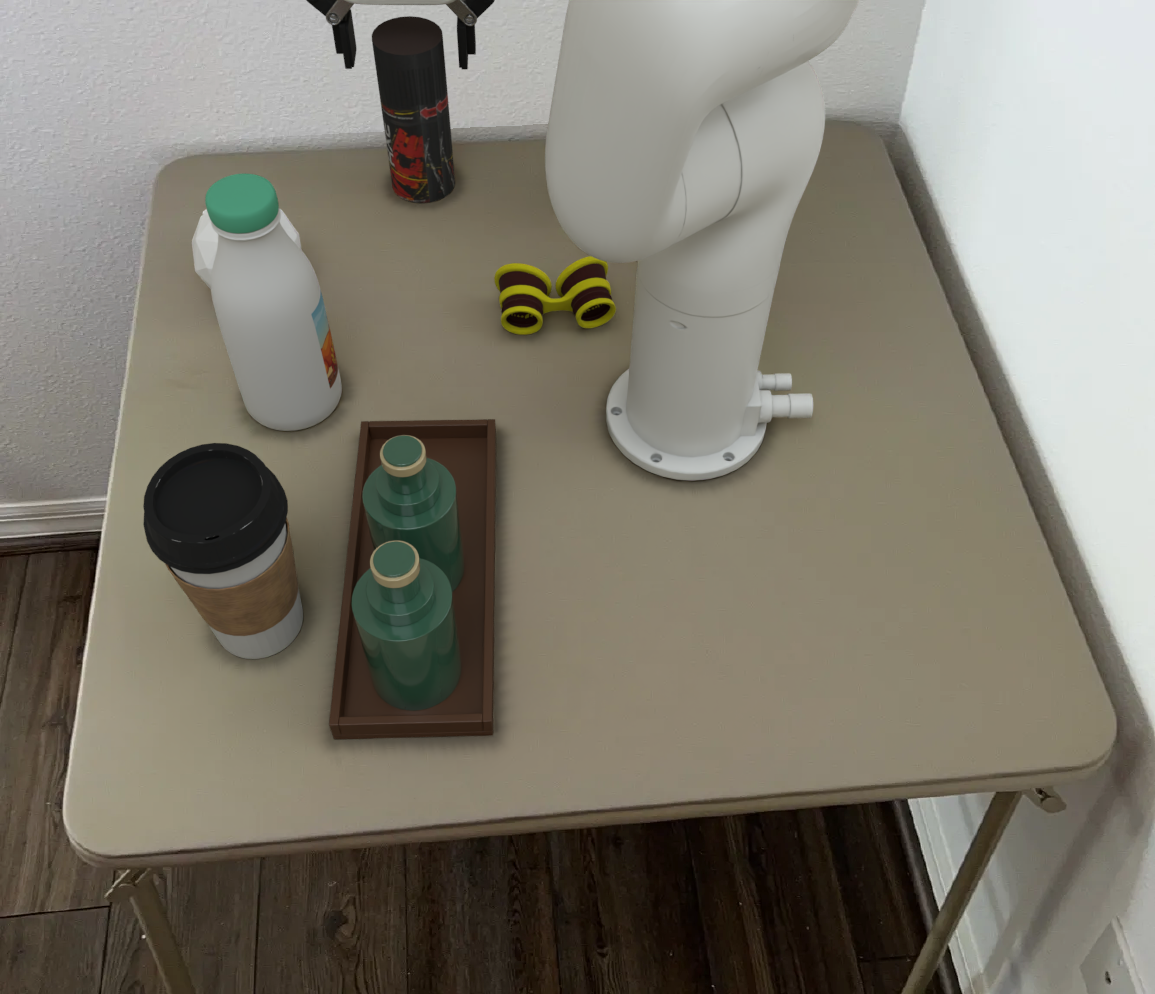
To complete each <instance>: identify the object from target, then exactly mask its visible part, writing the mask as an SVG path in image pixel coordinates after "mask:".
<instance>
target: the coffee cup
mask: <svg viewBox="0 0 1155 994" xmlns="http://www.w3.org/2000/svg"><path fill="white" fill-rule="evenodd" d="M288 501H289V500H288V498H287V493H286V491H285V489H284V487H283V485H282V484H281V482H280V480H279V479H278V478H277V475H276V474H275V473H274V472H273V471H272V470H271V469H270V468H269V467H268V466H266V464H265V463H264V461H263V460H262V459H261V458H260V457H259V456H258V455H257V454H255V453H254V452H252V451H251V450H249V449H248V448H245V447H242V446H240V445H237V444H232V443H226V442H225V443H223V442H209V443H203V444H199V445H195V446H192V447H189V448H187V449H184V450H183V451H180V452H178V453H176V454H175V455H173V456H172V457H170V458H169V459H167V460H166V461H165V462H164V463H163V464H162V465H160V467H158V469H157V470H156V471H155V472H154V474H153V475H152V476H151V479H150V480H149V482H148V484H147V486H146V488H145V492H144V495H143V504H142V505H143V507H142V508H143V522H142V523H143V530H144V534H145V539H146V542H147V544H148V546H149V548H150V550H151V552H152V553H153V554H154V555H155V557H156V558H157V559H158V560H160V562H162V563H164V564H165V566H166V568H167V570H168V571H169V573H170V574H171V576H172V577H173V578H174V580H175V581H176V583H177V584H178V586H179V587H180V588H181V590H182V591H183V592H184V594H185V596H186V597H187V599H188V600H189V602H191V604H192V606H194V608H195V609H196V611H197V612H198V613H199V615H200V616H201V618H202V620H204V622H205V623H206V624H207V626H208V627H209V629H210V630H211V631H212V633H213V635H214V636H215V638H216V640H217V641H218V643H219V644H220V645H221V646H222V647H223V648H224V650H226V651H227V652H228V653H229V654H231V655H233V656H236V657H238V658H241V659H246V660H259V659H266V658H268V657H272V656H275V655H276V654H278V653H281V652H282V651H283V650H285V649H286V648H288V647H289V646H290V645H291V644H292V643H293V641H295V639H296V638H297V637H298V635H299V633H300V631H301V629H302V626H303V622H304V611H303V610H304V609H303V604H302V599H301V593H300V589H299V580H298V573H297V567H296V561H295V554H294V549H293V548H294V547H293V541H292V536H291V530H290V523H289V519H288V514H289V505H288V504H289V502H288Z"/></svg>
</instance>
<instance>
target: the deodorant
mask: <svg viewBox="0 0 1155 994" xmlns="http://www.w3.org/2000/svg"><path fill="white" fill-rule="evenodd" d="M371 43H372V51H373V58H374V65H375V72H376V80H377V86H378V93H379V94H378V95H379V101H380V102H379V103H380V109H381V116H382V123H383V130H384V136H385V143H386V151H387V158H388V166H389V172H390V180H391V187H392V190H393V192H394V194H396V195H397V196H398V197H399V198H400V199H402V200H404V201H406V202H410V203H414V204H415V203H416V204H428V203H430V204H431V203H434V202H438V201H440V200H442V199H444V198H446V197H447V196H448V195H450V194H451V193H452V191H454V189H455V186H456V177H455V174H456V173H455V165H454V163H455V162H454V152H453V151H454V150H453V141H452V130H451V129H452V128H451V117H450V104H449V93H448V84H447V82H448V81H447V72H446V71H447V69H446V58H445V48H444V35H443V30H442V28H441V27H440V25H439V24H437V23H436V22H435V21H433V20H430V19H428V18H425V17H421V16H411V15H410V16H409V15H408V16H399V17H398V16H397V17H394V18H393V17H392V18H390V19H387V20H385V21H383V22H381V23H379V24H377V26H376V27H375V28H374V29H373V31H372V33H371Z"/></svg>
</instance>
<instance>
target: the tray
mask: <svg viewBox="0 0 1155 994" xmlns="http://www.w3.org/2000/svg"><path fill="white" fill-rule="evenodd" d="M359 428H360V429H359V436H358V447H357V456H356V465H355V466H356V467H355V475H354V484H353V494H352V503H351V504H352V505H351V511H350V512H351V513H350V523H349V532H348V541H347V552H346V559H345V569H344V578H343V579H344V581H343V590H342V598H341V607H340V616H339V625H338V636H337V644H336V653H335V654H336V656H335V665H334V674H333V683H332V693H331V701H330V702H331V703H330V712H329V720H328V722H329V723H328V726H329V729H330V731H331V735H332V737H333V740H361V739H362V740H367V739H400V738H401V739H402V738H403V739H408V738H409V739H410V738H411V739H412V738H446V737H447V738H448V737H449V738H450V737H451V738H452V737H483V736H484V737H486V736H494V699H495V698H494V697H495V696H494V695H495V691H494V688H495V685H494V683H495V611H496V609H495V607H496V604H495V603H496V601H495V599H496V597H495V595H496V594H495V593H496V587H495V586H496V518H497V517H496V512H497V511H496V510H497V509H496V506H497V505H496V504H497V503H496V502H497V501H496V500H497V497H496V496H497V425H496V419H495V418H489V419H487V418H486V419H426V420H425V419H424V420H423V419H421V420H419V419H418V420H361V421H360V427H359ZM400 435H409V436H413V437H415V438H417V439H419V440H420V441H421V442H422V443H423V444H424V446H425V450H426V457H427V458H430V459H432V460H435V461H437V462H439V463H440V464H442V465H443V466H444V467H445V468H446V469H447V470H448V471H449V472H450V473H451V475H452V476H453V478H454V481H455V485H456V491H457V500H458V509H459V518H460V527H461V536H462V545H463V554H464V562H465V570H464V575H463V578H462V580H461V582H460V584H459V585H458V587H457V588H456V589H455V590H454V591H453V592H452V595H453V603H454V610H455V618H456V625H457V633H458V640H459V648H460V655H461V663H462V671H461V676H460V680H459V682H458V684H457V686H456V688H455V689H454V691H453V692H452V693H451V694H450V695H449V696H448V697H447V698H446V699H445V700H444V701H442V702H441V703H439V704H437V705H435V706H433V707H431V708H428V709H423V710H416V711H409V710H402V709H399V708H396V707H393V706H391V705H389V704H388V703H386V702H385V701H384V700H382V699H381V698H380V696H379V695H378V694H377V692H376V691H375V689H374V687H373V684H372V681H371V677H370V673H369V670H368V666H367V662H366V659H365V655H364V651H363V648H362V644H361V640H360V637H359V633H358V629H357V625H356V622H355V618H354V614H353V611H352V595H353V591H354V588H355V586H356V584H357V582H358V581H359V579H360V578H361V577H362V575H363V574H364V573H365V572H366V571H367V570H369V569H370V568H371V567H370V558H371V555H372V553H373V552H374V549H373V545H372V540H371V536H370V531H369V527H368V523H367V518H366V514H365V509H364V505H363V499H362V493H363V488H364V485H365V483H366V481H367V479H368V477H369V476H370V475H371V473H372V472H373V471H374V470H375V469H377V468H378V467H379V466H381V465H382V464H381V459H380V450H381V448H382V446H383V445H384V443H385V442H386V441H388V440H389V439H391V438H393V437H395V436H400Z"/></svg>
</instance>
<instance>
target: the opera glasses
mask: <svg viewBox="0 0 1155 994" xmlns="http://www.w3.org/2000/svg"><path fill="white" fill-rule="evenodd" d="M608 264H609V263H608V262H606V261H602V260H599V259H596V258H594V257H592V256H590V255H588V256H585V257H582V258H579V259H577V260H576V261H573V262H572V263H570V264H569V265H568V266H567V267H565V268H564V269H563V270H562V271H561V273H560V274H559V275H558V277H557V279H556V281H555V285H554V288H555V292H556V294H557V295H558V297H559V298H558V297H557V298H552V297H550V295H551V294H552V290H553V284H552V283H553V282H552V281H551V278H550V276H548V274H547V273H546V272H544V271H543V270H541V269H539V268H538V267H536V266H534V265H531V264H526V263H521V262H513V263H507V264H504V265H502V266H500V267H499V268H498V269H497V270H496V271H495V273H494V277H493V280H494V281H493V282H494V285H495V288H496V289H497V290H498V292H499V293H500V294H499V296H498V301H499V306H500V307H499V308H500V310H501V311H500V312H501V316H500V324H501V326H502V327H503V329H504V330H505V331H507V332H509V333H511V334H514V335H520V336H521V335H522V336H523V335H524V336H526V335H532V334H535V333H537V332H538V331H540V330H541V328H542V326H543V323H544V318H543V316H544V314H547V313H552V312H558V311H565V312H571V313H572V314H573V316H574V317H575V320H576V324H577V325H578V326H579V327H580V328H583V329H593V328H598V327H600V326H602V325H605V324H606V323H608V322H609V321H611V319H613V318H614V317H615V314H616V311H617V307H616V304H615V302H614V301H613V297H612V288H611V284H610V282H609V281H608V280H607V275H608V271H609V265H608Z"/></svg>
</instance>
